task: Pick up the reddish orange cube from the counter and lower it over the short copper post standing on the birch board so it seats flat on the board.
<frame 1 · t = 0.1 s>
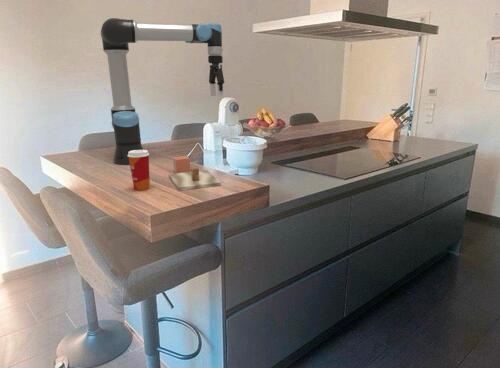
hand: (216, 96, 203), 28 cm above the worktop, fingers open, 13 cm apart
paper cup: (142, 188, 139), on the worktop
reddish orange cube: (182, 171, 162), on the worktop
board: (193, 181, 147), on the worktop
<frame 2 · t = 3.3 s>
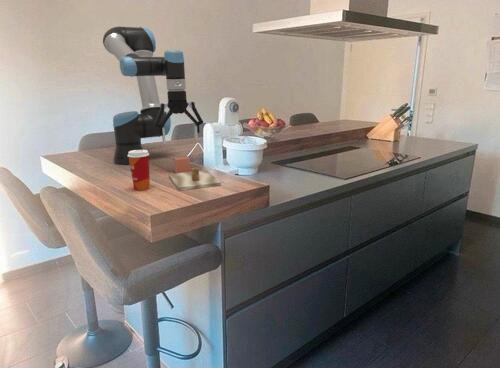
hand: (180, 142, 158), 13 cm above the worktop, fingers open, 13 cm apart
nothing on the worktop moved.
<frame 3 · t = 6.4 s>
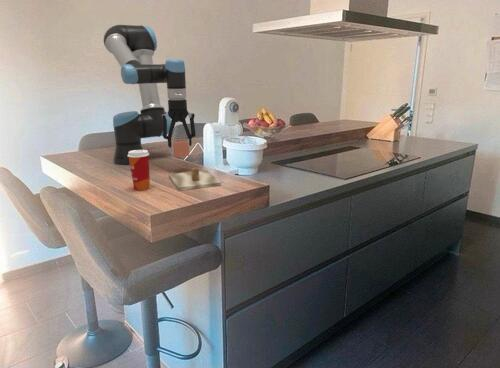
hand: (180, 153, 160), 8 cm above the worktop, fingers closed on reddish orange cube, 6 cm apart
reddish orange cube: (180, 154, 160), point 7 cm above the worktop, touching gripper
everything else where it was.
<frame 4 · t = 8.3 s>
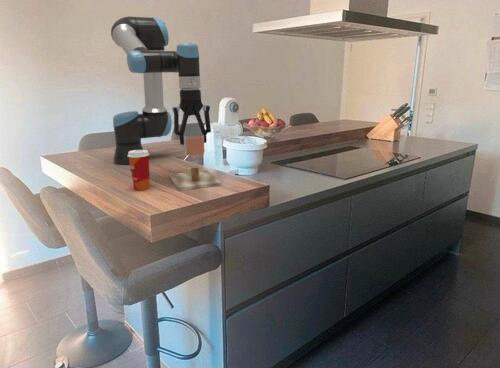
hand: (194, 152, 141), 12 cm above the worktop, fingers closed on reddish orange cube, 6 cm apart
reddish orange cube: (194, 153, 141), point 12 cm above the worktop, touching gripper
everything else where it was.
when the fingers open (2 cm above the worktop, at t = 10.5 s): reddish orange cube stays where it is, resting on board.
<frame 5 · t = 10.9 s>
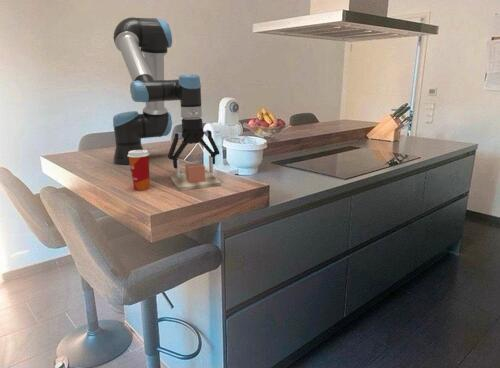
hand: (195, 174, 143), 3 cm above the worktop, fingers open, 12 cm apart
reddish orange cube: (195, 180, 144), point 1 cm above the worktop, touching board
everything else where it was.
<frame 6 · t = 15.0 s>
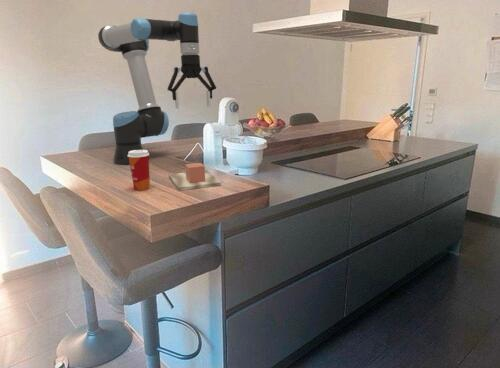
hand: (193, 107, 158), 27 cm above the worktop, fingers open, 13 cm apart
nothing on the worktop moved.
at the end: reddish orange cube 0.2 cm from the target spot on the board, point 1.2 cm above the board's base; reddish orange cube tilted 0°; the gripper is holding nothing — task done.
